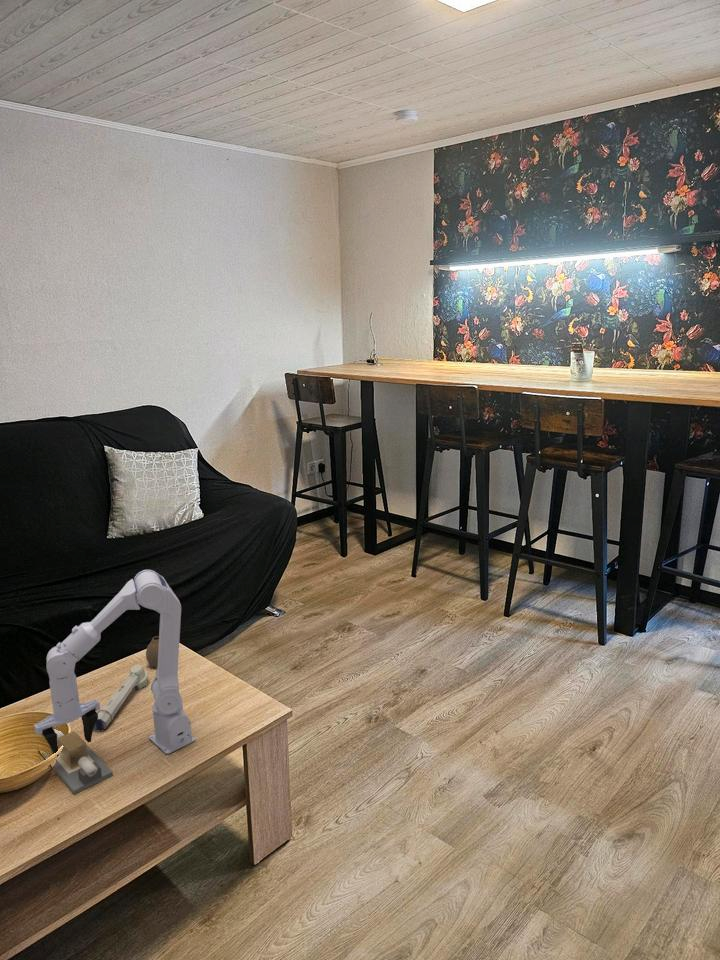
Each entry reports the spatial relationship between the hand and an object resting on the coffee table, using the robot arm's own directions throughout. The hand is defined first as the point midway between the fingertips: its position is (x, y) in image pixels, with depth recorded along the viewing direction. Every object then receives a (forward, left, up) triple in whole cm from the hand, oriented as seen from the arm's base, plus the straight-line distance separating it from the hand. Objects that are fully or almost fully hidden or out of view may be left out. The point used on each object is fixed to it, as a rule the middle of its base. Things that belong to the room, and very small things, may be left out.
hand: (72, 747), depth 160 cm
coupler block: (0, 0, -3) cm, 3 cm away
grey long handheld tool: (+16, -19, -5) cm, 25 cm away
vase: (+28, -37, -4) cm, 47 cm away
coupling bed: (0, 0, -4) cm, 4 cm away
